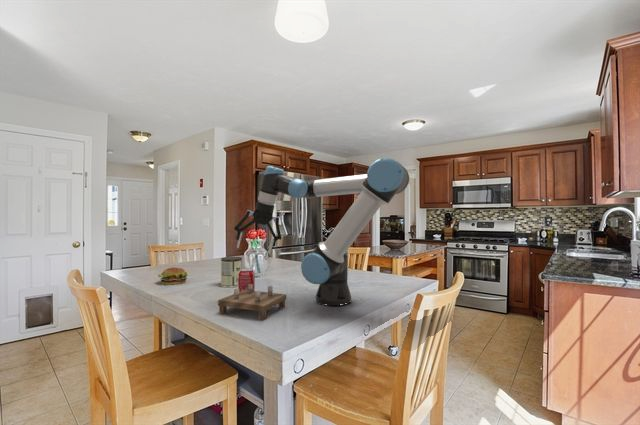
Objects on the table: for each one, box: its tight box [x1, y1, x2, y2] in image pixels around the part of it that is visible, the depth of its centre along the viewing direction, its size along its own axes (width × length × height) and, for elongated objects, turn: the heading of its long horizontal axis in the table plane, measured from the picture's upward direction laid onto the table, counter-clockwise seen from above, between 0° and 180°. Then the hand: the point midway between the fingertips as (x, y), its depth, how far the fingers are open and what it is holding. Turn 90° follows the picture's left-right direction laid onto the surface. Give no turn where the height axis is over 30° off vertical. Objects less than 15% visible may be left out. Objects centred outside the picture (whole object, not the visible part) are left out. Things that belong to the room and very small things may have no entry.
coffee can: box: [220, 256, 243, 289], centre depth 159 cm, size 10×10×14 cm
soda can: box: [237, 268, 256, 292], centre depth 137 cm, size 7×7×12 cm
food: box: [157, 266, 188, 286], centre depth 164 cm, size 14×14×8 cm
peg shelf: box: [217, 284, 287, 321], centre depth 117 cm, size 19×17×8 cm
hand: (253, 250), depth 132 cm, fingers open, 13 cm apart
